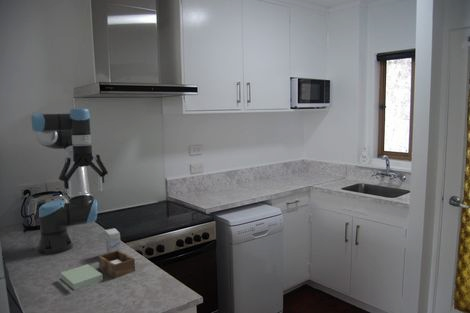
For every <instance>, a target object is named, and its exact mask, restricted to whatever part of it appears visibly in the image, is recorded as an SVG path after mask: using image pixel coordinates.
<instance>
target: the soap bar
mask: <svg viewBox="0 0 470 313" xmlns="http://www.w3.org/2000/svg"><path fill="white" fill-rule="evenodd" d="M110 262H112V263H113V264H118V263H121V262H122V261H120V260H118V259H117V260H113V261H110Z"/></svg>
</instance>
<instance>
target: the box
mask: <svg viewBox="0 0 470 313" xmlns="http://www.w3.org/2000/svg"><path fill="white" fill-rule="evenodd" d="M117 259H118V260H120V261H122V262H121V263H118V264H113V263H112V262H110V261H113V260H117ZM135 261H136V260H135V258H134V257H132V256H130V255H128V254H127V253H124V252H123V251H122V250H121V251H119V250H117V251H114V252H111V253H107V252H106V253H104V254H101V255H98V266H99V269H101V270H102V271H103V272H104V273H106V274H108V275H109V276H110V277H112V278H113V279H116V278H120V277H122V276H125V275H128V274H131V273H133V272H136V263H135Z"/></svg>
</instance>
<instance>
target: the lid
mask: <svg viewBox="0 0 470 313" xmlns="http://www.w3.org/2000/svg"><path fill="white" fill-rule="evenodd" d="M60 279H61V280H62V281H63V282H64V283H66V284H67V285H68V286H69V287H70V288H71V289H73V291H75V290H79V289H82V288H84V287H88V286H90V285H93V284H96V283H99V282H101V281H103V280H104V279H103V273H102V272H99V271H98V270H97V269H96V268H94V267H92V266H91V265H90V264H88V263H87V264H84V265H82V266H81V265H80V266H77V267H74V268H71V269H69V270H65V271H61V272H60Z"/></svg>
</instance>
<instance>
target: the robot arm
mask: <svg viewBox="0 0 470 313" xmlns="http://www.w3.org/2000/svg"><path fill="white" fill-rule="evenodd" d="M90 118H91V115H90V111H89V109H88V108H71V109H70V110H69V113H37V114H36V113H35V114H32V115H31V116H30V120H31V128H32V131H33V132H36V140H37V142H38V143H39V144H40V145H42V146H43V147H45V148H48V149H54V150H63V153H65V154H66V155H67V157H65V162H64V165H63V167H62V169H61V172H60V175H59V177H58V180H59V181H62V182H63V186H64V189H65V190H66V196H67V197H70V198H69V199H68V202H66V201H65V200H62V199H59V200H58V199H57V200H53V201H49V202H46V203H44V204H42V205H41V206H40V207H39V208H38V218H39V228H40V229H39V230H40V231H39V232H40V238H39V241H38V245H37V251H38V254H41V255H54V254H59V253H63V252H65V251H68V250H70V249H71V248H72V247H73V242H72V239H71V236H70V234H69V233H68V227H73V226H80V225H85V224H86V225H88V224H91V223H95V222H96V221H97V218H98V199H96V198H94V195H93V194H91V193H90V184H89V176H88V168H87V167H90V168H92V169H93V171H94V172H95V173H97V175H98V176H97V185H98V188H97V189H98V191H99V192H103V191H104V188H103V187H104V186H103V185H104V183H105V175H108V174H109V172H108V170H107V168H106V166H105V165H104V163H103V162H102V161H101V156H100V154H96V153H95V154H94V155H93V148H92V147H93V146H92V135H91V120H90ZM93 160H95V162H96V164H97V165H98V167H97V166H96V165H95V163H94V162H92V161H93Z"/></svg>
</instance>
